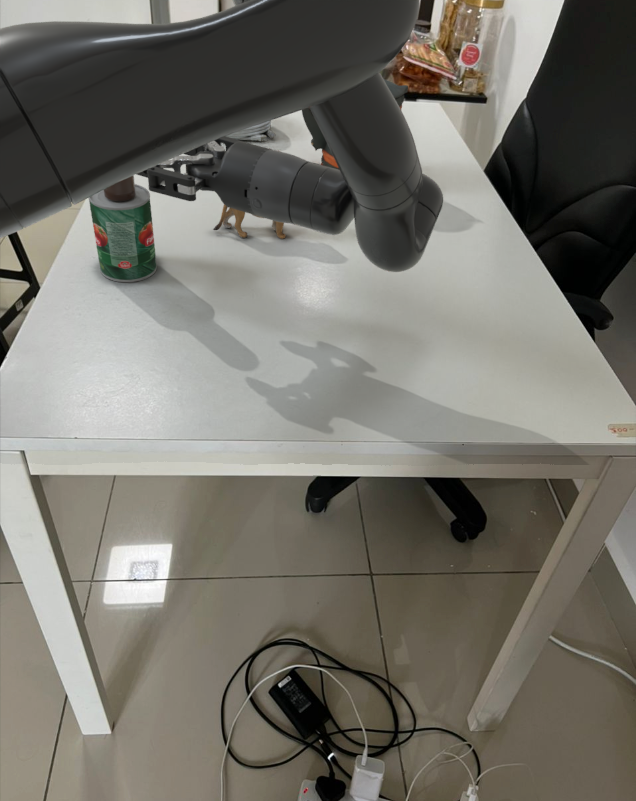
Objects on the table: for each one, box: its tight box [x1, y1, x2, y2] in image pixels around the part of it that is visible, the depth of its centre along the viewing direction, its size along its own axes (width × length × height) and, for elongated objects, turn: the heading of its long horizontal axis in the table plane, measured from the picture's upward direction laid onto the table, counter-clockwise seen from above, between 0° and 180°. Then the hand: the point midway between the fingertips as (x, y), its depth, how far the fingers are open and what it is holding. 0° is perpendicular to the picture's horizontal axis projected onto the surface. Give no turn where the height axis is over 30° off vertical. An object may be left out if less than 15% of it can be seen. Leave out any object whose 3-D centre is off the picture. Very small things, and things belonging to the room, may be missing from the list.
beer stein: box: [301, 78, 409, 169], centre depth 117 cm, size 19×15×20 cm
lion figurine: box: [212, 204, 286, 240], centre depth 100 cm, size 15×5×9 cm, turn 103°
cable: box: [226, 120, 276, 143], centre depth 136 cm, size 18×18×6 cm
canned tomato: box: [87, 183, 158, 283], centre depth 88 cm, size 8×8×11 cm
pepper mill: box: [104, 175, 136, 201], centre depth 82 cm, size 4×4×10 cm
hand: (151, 151), depth 78 cm, fingers open, 8 cm apart
